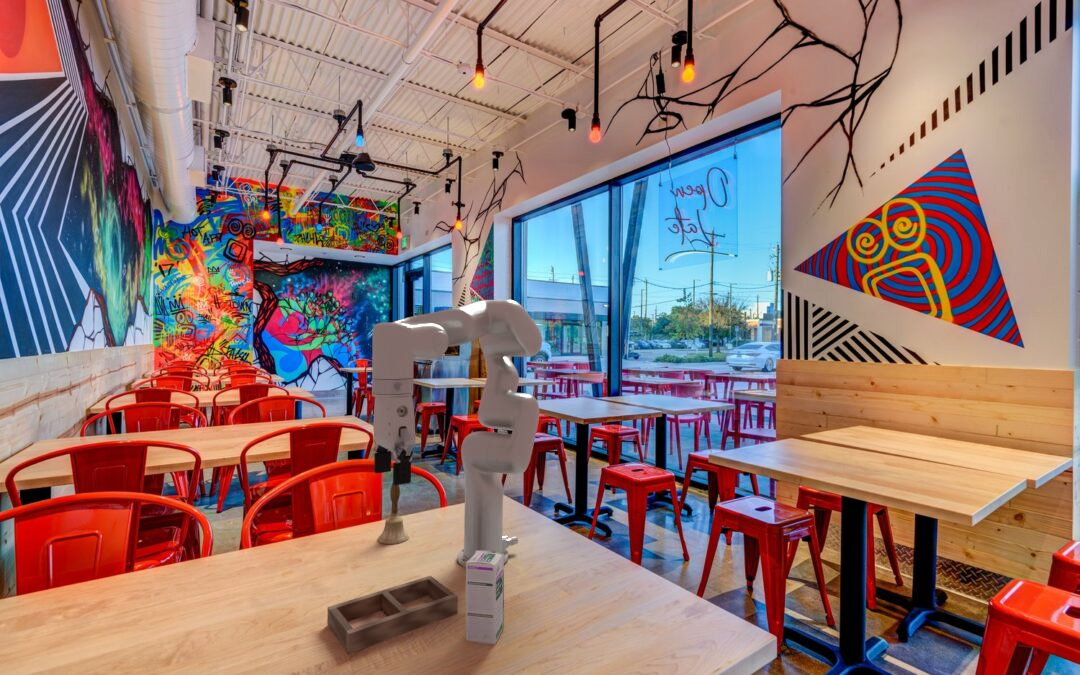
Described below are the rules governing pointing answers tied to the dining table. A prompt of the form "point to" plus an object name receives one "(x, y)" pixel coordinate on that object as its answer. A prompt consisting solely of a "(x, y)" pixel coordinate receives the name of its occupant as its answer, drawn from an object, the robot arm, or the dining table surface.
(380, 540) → the hand bell
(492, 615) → the syrup box
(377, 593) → the rack
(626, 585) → the dining table surface
